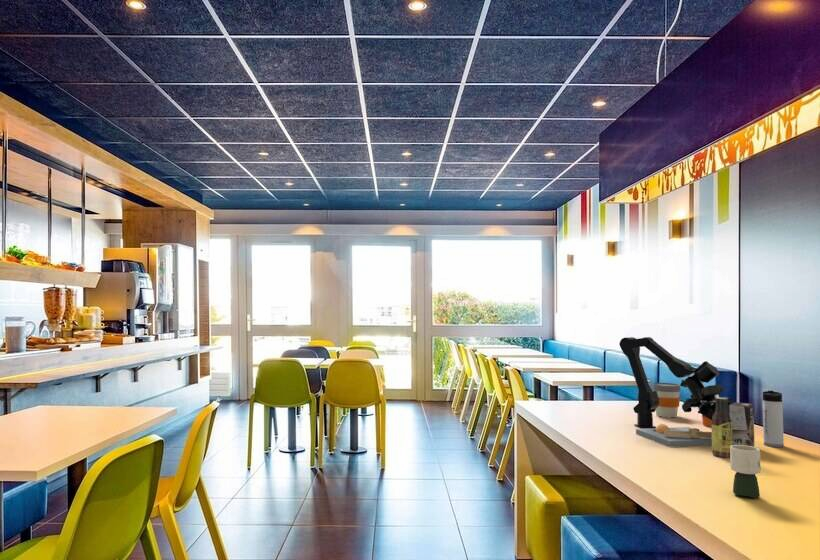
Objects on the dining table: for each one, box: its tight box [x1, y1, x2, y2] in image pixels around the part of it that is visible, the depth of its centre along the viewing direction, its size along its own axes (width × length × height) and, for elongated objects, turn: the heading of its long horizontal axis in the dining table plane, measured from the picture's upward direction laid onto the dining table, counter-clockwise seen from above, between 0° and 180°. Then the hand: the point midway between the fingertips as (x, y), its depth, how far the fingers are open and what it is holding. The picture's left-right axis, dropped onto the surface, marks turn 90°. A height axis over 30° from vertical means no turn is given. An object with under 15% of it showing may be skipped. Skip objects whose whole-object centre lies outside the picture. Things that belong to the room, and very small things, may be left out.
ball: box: [656, 423, 670, 434], centre depth 221 cm, size 5×5×5 cm
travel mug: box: [762, 390, 785, 448], centre depth 208 cm, size 6×7×20 cm
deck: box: [635, 426, 712, 447], centre depth 217 cm, size 22×24×2 cm
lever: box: [664, 408, 716, 438], centre depth 210 cm, size 4×21×11 cm, turn 78°
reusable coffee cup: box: [651, 382, 682, 418], centre depth 264 cm, size 13×13×15 cm
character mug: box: [729, 445, 762, 499], centre depth 151 cm, size 11×7×13 cm, turn 167°
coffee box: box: [729, 401, 756, 447], centre depth 203 cm, size 9×6×16 cm
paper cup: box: [701, 394, 720, 428], centre depth 243 cm, size 8×8×14 cm
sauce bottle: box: [711, 397, 732, 458], centre depth 193 cm, size 7×6×20 cm
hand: (718, 423), depth 210 cm, fingers closed
